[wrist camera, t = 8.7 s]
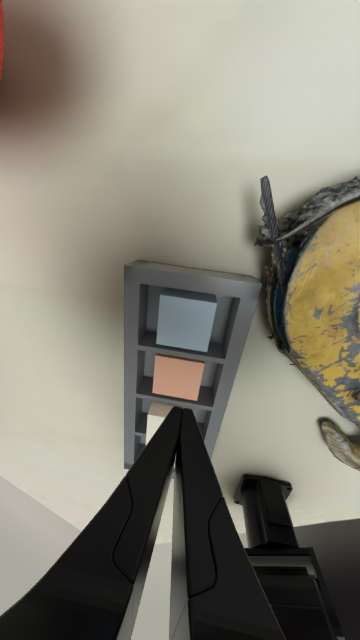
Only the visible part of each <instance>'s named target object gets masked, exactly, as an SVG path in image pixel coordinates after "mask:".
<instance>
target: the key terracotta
mask: <svg viewBox="0 0 360 640" xmlns="http://www.w3.org/2000/svg"><path fill="white" fill-rule="evenodd" d="M204 365H205V361H202V360H196V359H190V358H184V357H178V356H172V355H165V354H159V353H156V355H155V366H154V379H153V392H152V393H155V394H161V395H167V396H172V397H178V398H183V399H189V400H195V401H197V399H198V394H199V389H200V384H201V379H202V374H203V369H204Z"/></svg>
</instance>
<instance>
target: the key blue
mask: <svg viewBox="0 0 360 640" xmlns="http://www.w3.org/2000/svg"><path fill="white" fill-rule="evenodd" d="M216 306H217V300H216V295H215V294H208V293H201V292H194V291H187V290H180V289H173V288H167V287H166V288H165V289H164V290H163V292H162V293H161V294H160V302H159V315H158V328H157V340H156V344H160V345H166V346H172V347H178V348H184V349H191V350H197V351H203V352H207V350H208V345H209V340H210V335H211V331H212V326H213V321H214V316H215V311H216Z"/></svg>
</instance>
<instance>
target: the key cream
mask: <svg viewBox="0 0 360 640" xmlns="http://www.w3.org/2000/svg"><path fill="white" fill-rule="evenodd" d="M173 406H178V407H182V408H189V409H192V410H193V413H194V415H195V408H192V407H186V406H181V405H175V404H170V403H164V402H159V401H153V400H152V403H151V406H150V409H149V412H148V417H147V432H146V445H147V444H148V442H149V441H150V439H151V438H152V436H153V435H154V433H155V432H156V431H157V429H158V428H159V426H160V425H161V423H162V422H163V421H164V419H165V418H166V416H167V415H168V413H169V412H170V410H171V409H172V408H173Z"/></svg>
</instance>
